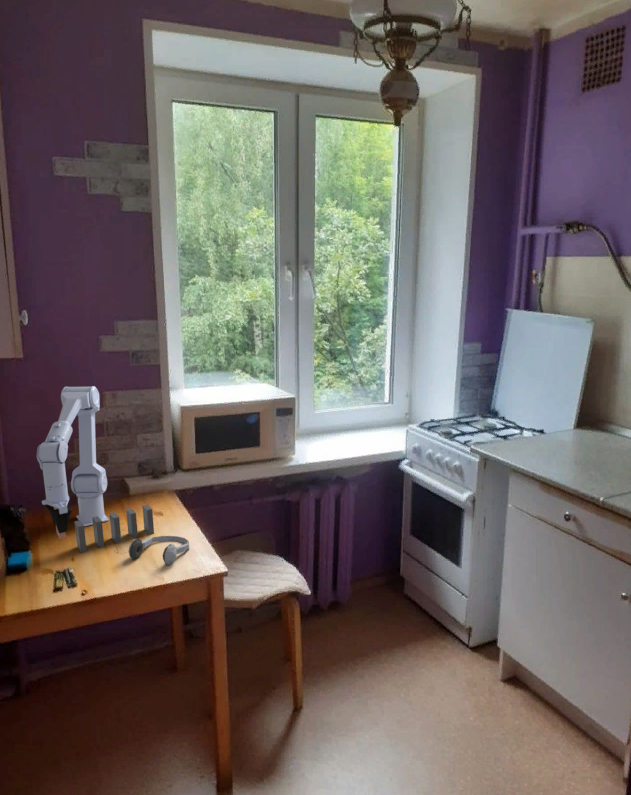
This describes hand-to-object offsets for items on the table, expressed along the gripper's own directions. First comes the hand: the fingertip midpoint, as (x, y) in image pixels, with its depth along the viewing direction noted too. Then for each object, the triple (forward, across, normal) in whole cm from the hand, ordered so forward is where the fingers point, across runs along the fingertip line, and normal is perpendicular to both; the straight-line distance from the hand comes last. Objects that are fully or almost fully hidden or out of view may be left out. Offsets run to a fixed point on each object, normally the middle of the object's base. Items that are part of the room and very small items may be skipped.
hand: (60, 528), depth 172 cm
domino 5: (+8, 0, +20) cm, 21 cm away
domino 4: (+8, 0, +15) cm, 17 cm away
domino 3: (+8, 0, +10) cm, 13 cm away
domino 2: (+8, 0, +5) cm, 9 cm away
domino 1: (+2, 0, 0) cm, 2 cm away
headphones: (+8, +16, +21) cm, 28 cm away
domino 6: (+8, 0, +25) cm, 26 cm away
